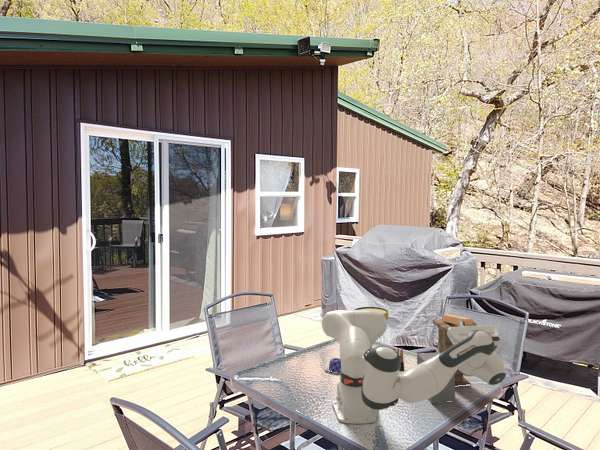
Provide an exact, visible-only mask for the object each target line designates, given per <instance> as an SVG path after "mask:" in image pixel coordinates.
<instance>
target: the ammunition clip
mask: <svg viewBox="0 0 600 450" xmlns="http://www.w3.org/2000/svg"><path fill="white" fill-rule="evenodd" d="M393 349H394V350H395V351H396V352H397V353H398V354H399V355H400V360H401V366H400V369H399V371H405V362H404V352H403V351H404V350H403V347H400V348H399V347H397V348H395V347H394V348H393ZM396 349H397V350H396Z"/></svg>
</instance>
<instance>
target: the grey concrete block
mask: <svg viewBox="0 0 600 450" xmlns="http://www.w3.org/2000/svg"><path fill="white" fill-rule="evenodd" d="M438 354H440V353H439V352H423V353H417V354H416V357H417V358H416V363H417V364H416V365H418V364H420V363H422V362H425V361H427V360H429V359H431V358H433V357H435V356H436V355H438ZM455 388H456V387H455V374H454V375H453V377H452V378H451V380H450V381H449V383H448V384H447V386H446V387H445V388H444V389H443V390H442V391H441V392H440V393H438V394H437V395H435V396H433V397H431V398H429V399H427V401H429V403H430V404H439V402H445V403H448V402H447V401H456V389H455Z"/></svg>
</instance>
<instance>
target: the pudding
mask: <svg viewBox="0 0 600 450" xmlns="http://www.w3.org/2000/svg"><path fill="white" fill-rule="evenodd" d="M328 365H329V369H328V370H330V371H332V372H337V373H333V374H334V375H335V374H339V375H340V370H341V360H340V357H339V358H338V357H335V358H334V357H333V358H331V359H330V360H329V364H328ZM330 371H329V372H330Z"/></svg>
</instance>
